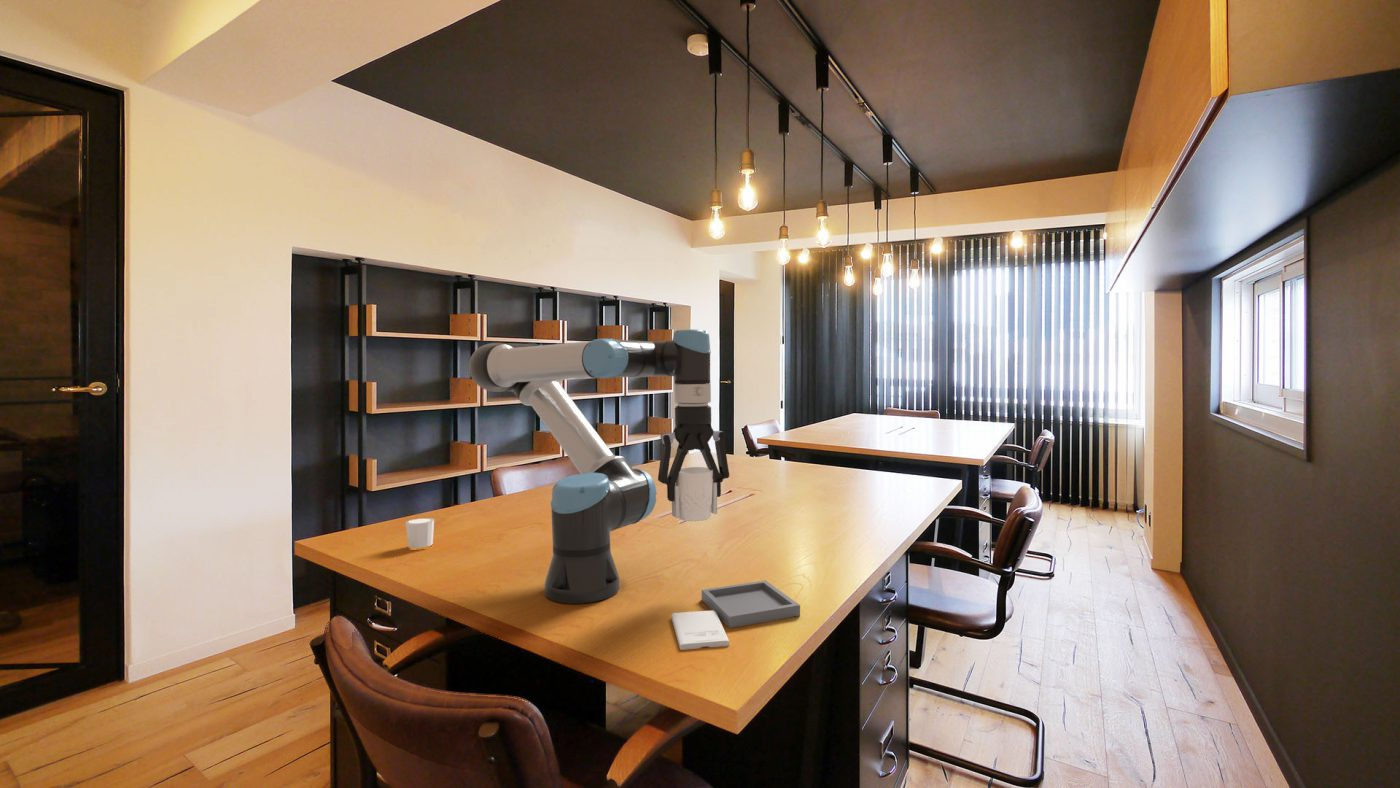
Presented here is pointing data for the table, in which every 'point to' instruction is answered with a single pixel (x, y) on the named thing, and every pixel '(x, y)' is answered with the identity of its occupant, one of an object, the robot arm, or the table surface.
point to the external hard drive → (699, 630)
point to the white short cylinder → (420, 532)
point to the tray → (749, 603)
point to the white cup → (695, 493)
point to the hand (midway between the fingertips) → (694, 514)
